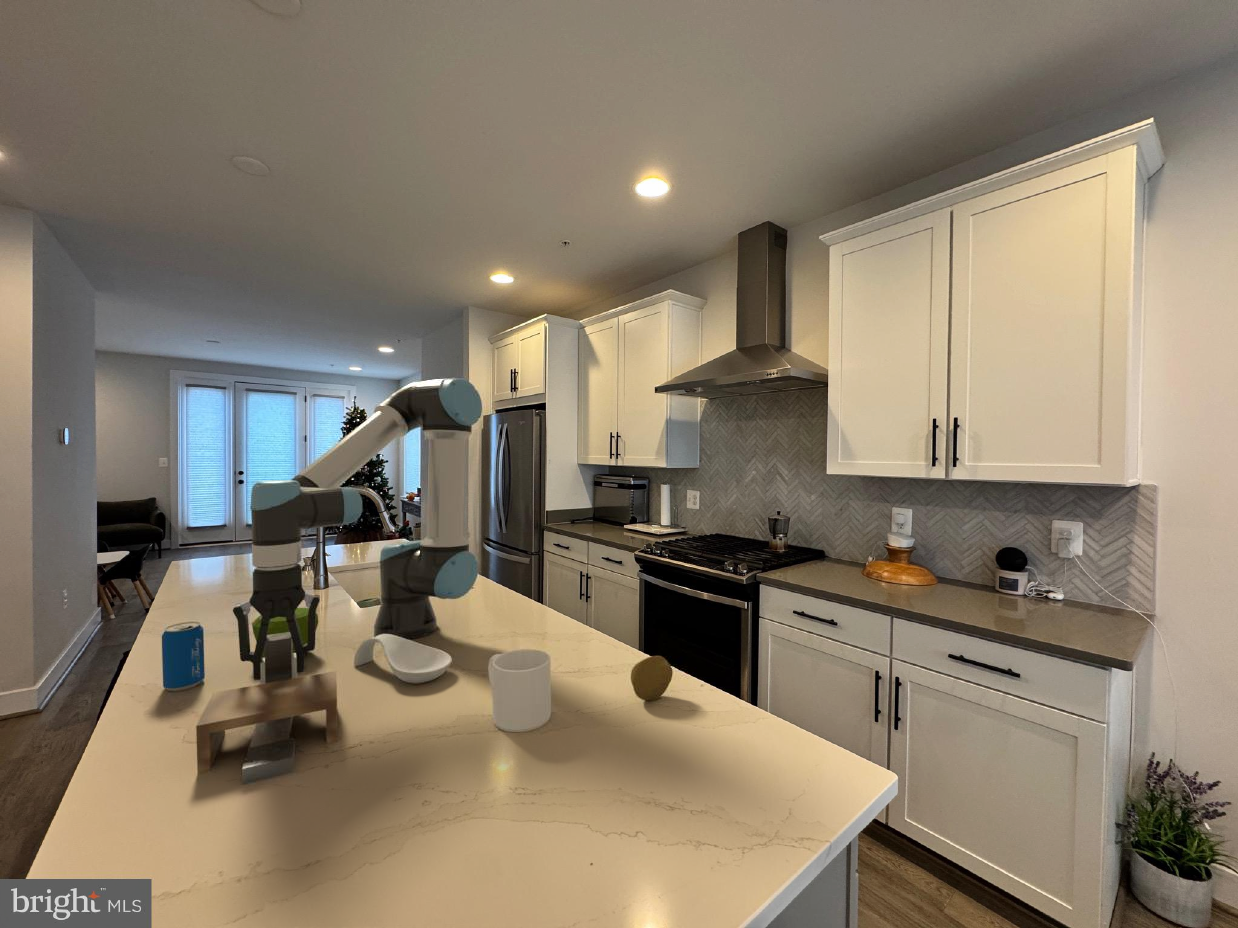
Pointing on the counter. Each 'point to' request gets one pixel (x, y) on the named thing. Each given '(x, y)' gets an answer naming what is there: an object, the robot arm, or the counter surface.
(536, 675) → the mug
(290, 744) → the block
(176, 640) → the beverage can
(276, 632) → the apple
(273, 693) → the walnut shelf
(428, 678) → the spoon rest
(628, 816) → the counter surface
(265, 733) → the grey metal prism
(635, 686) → the potato
